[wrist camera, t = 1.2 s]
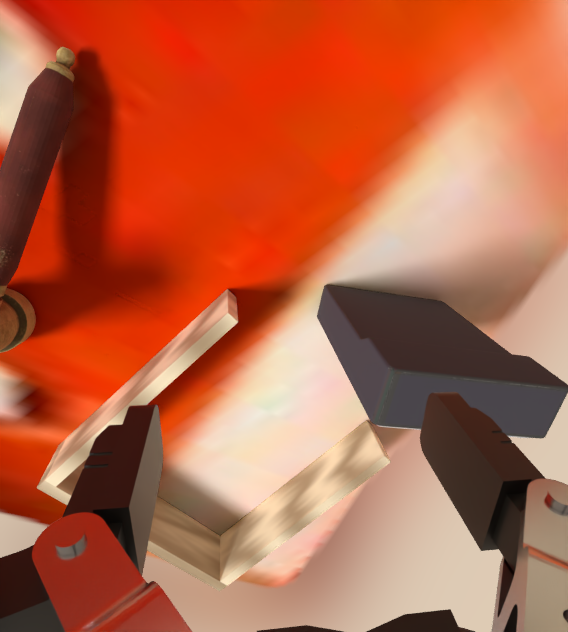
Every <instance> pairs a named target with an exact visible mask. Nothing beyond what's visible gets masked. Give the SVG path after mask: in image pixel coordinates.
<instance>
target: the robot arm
mask: <svg viewBox="0 0 568 632" xmlns="http://www.w3.org/2000/svg"><path fill="white" fill-rule="evenodd" d="M420 442H421V447H422V451H423V453H424V455H425V457H426V459H427V460H428V462H429V464H430V465H431V467H432V469H433V471H434V472H435V474H436V476H437V477H438V479H439V481H440V482H441V484H442V486H443V487H444V489H445V491H446V492H447V494H448V496H449V497H450V499H451V501H452V502H453V504H454V506H455V508H456V509H457V511H458V513H459V514H460V516H461V517H462V519H463V521H464V523H465V524H466V526H467V528H468V530H469V531H470V533H471V535H472V536H473V538H474V540H475V541H476V543H477V545H478V546H479V548H480V549H481V551H484V550H495V549H499V550H500V551H501V553H502V555H503V558H502V561H501V564H500V571H499V580H498V587H497V594H496V603H495V611H494V618H493V626H492V632H568V485H566V484H564V483H562V482H559V481H556V480H551V479H546V478H545V477H544V476H543V475H542V474H541V473H540V472H539V471H538V470H537V469H536V467H535V466H534V465H533V464H532V463H531V462H530V461H529V460H528V458H527V457H526V456H525V455H524V454H523V453H522V452H521V451H520V450H519V448H518V447H517V446H516V445H515V444H514V443H512V442H511V440H510V438H509V437H508V436H507V435H506V434H505V433H503V432H502V429H501V428H500V427H499V426H498V425H497V424H496V423H495V422H494V421H493V419H492V418H490V417H489V416H487V415H486V414H484V413H483V412H481V411H480V410H478V409H477V408H471V407H470V406H469V405H468V404H467V402H466V401H465V400H464V399H463V398H462V397H461V395H460V394H459V393H457V392H440V393H431V394H430V395H429V396H428V399H427V404H426V408H425V413H424V418H423V423H422V428H421V434H420ZM162 466H163V445H162V436H161V426H160V417H159V409H158V406H157V405H135V406H129V408H128V410H127V413H126V416H125V419H124V421H123V424H122V425H109V426H108V427H107V428H106V429H105V430H104V431H102V432H101V433H100V434H99V435H98V436H97V437H96V438H95V441H94V443H93V446H92V448H91V450H90V453H89V456H88V457H87V460H86V462H85V465H84V469H82V472H81V474H80V477H79V479H78V481H77V484H76V486H75V488H74V491H73V493H72V496H71V498H70V500H69V503H68V505H67V507H66V510H65V512H64V515H63V517H62V518H61V519H59V520H57V521H55V522H54V523H52V524H51V525H50V526H48V527H47V528H46V529H45V530H44V531H43V532H42V533H41V535H40V536H39V537H38V539H37V540H36V542H35V544H34V545H33V546H31V547H29V548H27V549H24V550H22V551H19V552H17V553H14V554H11V555H8V556H5V557H2V558H0V632H192V631H191V629H190V628H189V626H188V625H187V624H186V622H185V621H184V619H183V618H182V617H181V615H180V614H179V612H178V611H177V609H176V608H175V607H174V605H173V604H172V602H171V601H170V599H169V598H168V597H167V595H166V594H165V593H164V591H163V590H162V588H161V587H160V586H159V585H158V584H157V583H156V582H154V581H152V582H150V583H149V584H148V583H147V582H146V581H145V580H144V579H143V577H142V573H143V568H144V562H145V557H146V552H147V547H148V541H149V536H150V531H151V526H152V520H153V515H154V510H155V504H156V499H157V494H158V489H159V483H160V478H161V473H162ZM257 632H342V631H336V630H331V629H325V628H318V627H313V626H307V625H306V626H297V627H289V628H279V629H270V630H261V631H257ZM367 632H475V631H471V630H468V629H465V628H460V627H458V625H457V623H456V621H455V619H454V616H453V614H452V612H451V610H440V611H431V612H423V613H414V614H405V615H403V616H400V617H398V618H396V619H394V620H391V621H389V622H387V623H385V624H383V625H381V626H378V627H376V628H374V629H371V630H370V631H367Z"/></svg>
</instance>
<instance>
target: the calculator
mask: <svg viewBox="0 0 568 632" xmlns="http://www.w3.org/2000/svg"><path fill="white" fill-rule="evenodd" d="M317 318H318V320H319V322H320V324H321V325H322V327H323V329H324V331H325V333H326V335H327V337H328V339H329V341H330V343H331V345H332V347H333V349H334V351H335V353H336V355H337V357H338V359H339V361H340V362H341V364H342V366H343V368H344V370H345V372H346V374H347V376H348V378H349V380H350V382H351V384H352V386H353V388H354V390H355V392H356V394H357V396H358V398H359V399H360V401H361V403H362V405H363V407H364V409H365V411H366V413H367V415H368V417H369V419H370V421H371V422H372V423H374V424H375V425H377V426H380V427H389V428H402V429H415V430H421V428H422V423H423V418H424V413H425V408H426V404H427V399H428V396H429V395H430V394H431V393H440V392H457V393H459V394H460V395H461V397H462V398H463V399H464V400H465V401H466V402H467V404H468V405H469V406H470V407H471V408H477V409H478V410H480V411H481V412H483V413H484V414H486V415H487V416H489V417H490V418H492V419H493V421H494V422H495V423H496V424H497V425H498V426H499V427H500V428H501V429H502V432H503V433H505V434H506V435H507V436H508V437H519V438H544V437H545V436H546V434H547V432H548V430H549V428H550V426H551V424H552V422H553V421H554V419H555V417H556V415H557V413H558V411H559V409H560V407H561V405H562V403H563V401H564V399H565V397H566V395H567V393H568V385H567V384H566V383H565V382H563V381H562V380H560V379H559V378H558V377H556V376H555V375H553V374H552V373H551V372H549V371H548V370H547V369H545V368H544V367H543V366H541V365H540V364H539V363H537V362H536V361H534V360H533V359H532V358H530V357H527V356H520V355H512V354H511V353H509V352H508V351H507V350H505V349H504V348H503V347H501V346H500V345H499V344H497V343H496V342H495V341H494V340H492V339H491V338H490V337H488V336H487V335H486V334H484V333H483V332H482V331H480V330H479V329H478V328H477V327H475V326H474V325H473V324H471V323H470V322H469V321H467V320H466V319H465V318H464V317H462V316H461V315H460V314H458V313H457V312H456V311H454V310H453V309H452V308H450V307H449V306H448V305H447V304H445V303H444V302H442V301H437V300H430V299H423V298H416V297H410V296H403V295H396V294H389V293H382V292H375V291H368V290H361V289H354V288H347V287H340V286H333V285H325V286H324V289H323V293H322V298H321V302H320V306H319V310H318V315H317Z"/></svg>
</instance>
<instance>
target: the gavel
mask: <svg viewBox="0 0 568 632" xmlns="http://www.w3.org/2000/svg"><path fill="white" fill-rule="evenodd" d="M74 62H75V55H74V53H73V52H72V51H71V50H70V49H68V48H65V47H61V48H59V49H58V51H57V60H56V62H52V61H50V62H48V63H47V65H46V68H45V69H44V70H43V71H42V72H41V73H40V75H39V76H38V77H37V78H36V79H35V80H34V81H33V82H32V83H31V84H30V86H29V87H28V89H27V92H26V95H25V98H24V101H23V104H22V107H21V110H20V113H19V116H18V119H17V122H16V125H15V127H14V130H13V133H12V136H11V139H10V142H9V145H8V148H7V151H6V154H5V157H4V160H3V163H2V165H1V168H0V353H1V352H5V351H8V350H10V349H12V348H14V347H16V346H17V345H19V344H21V343H22V342H24V341H25V340H26V339H27V338H28V337H29V336H30V335H31V334H32V332H33V330H34V327H35V323H36V316H35V311H34V309H33V307H32V305H31V303H30V302H29V301H28V300H27V299H26V298H25V297H24V296H23V295H22V294H20V293H19V292H16V291H14V290H12V289H8V288H7V285H8V283H9V282H10V280H11V278H12V277H13V275H14V273H15V272H16V270H17V268H18V265H19V262H20V259H21V257H22V254H23V251H24V248H25V245H26V242H27V239H28V237H29V234H30V231H31V228H32V225H33V222H34V220H35V217H36V214H37V211H38V208H39V205H40V203H41V200H42V197H43V194H44V191H45V188H46V185H47V183H48V180H49V177H50V174H51V171H52V168H53V166H54V163H55V160H56V157H57V154H58V151H59V149H60V146H61V143H62V140H63V137H64V134H65V131H66V129H67V126H68V123H69V120H70V117H71V114H72V112H73V81H74V74H73V73H72V72H71V71H70V67H71V66H72V65H73V64H74Z"/></svg>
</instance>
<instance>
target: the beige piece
mask: <svg viewBox="0 0 568 632" xmlns="http://www.w3.org/2000/svg"><path fill="white" fill-rule="evenodd" d="M237 323H238V314H237V302H236V297H235V296H234V295H233V294H232V293H231V292H230V291H229V290H228V289H227V290H226V291H225V292H223V293H222V294H221V295H220V296H219V297H218V298H217V299H216V300H215V301H214V302H213V303H212V304H211V305H209V306H208V307H207V308H206V309H205V310H204V311H203V312H202V313H201V314H200V315H199V316H198V317H197V318H195V319H194V320H193V321H192V322H191V323H190V324H189V325H188V326H187V327H186V328H185V329H184V330H182V331H181V332H180V333H179V334H178V335H177V336H176V337H175V338H174V339H173V340H172V341H171V342H170V343H168V344H167V345H166V346H165V347H164V348H163V349H162V350H161V351H160V352H159V353H158V354H157V355H156V356H154V357H153V358H152V359H151V360H150V361H149V362H148V363H147V364H146V365H145V366H144V367H143V368H142V369H140V370H139V371H138V372H137V373H136V374H135V375H134V376H133V377H132V378H131V379H130V380H129V381H128V382H126V383H125V384H124V385H123V386H122V387H121V388H120V389H119V390H118V391H117V392H116V393H115V394H114V395H112V396H111V397H110V398H109V399H108V400H107V401H106V402H105V403H104V404H103V405H102V406H101V407H100V408H98V409H97V410H96V411H95V412H94V413H93V414H92V415H91V416H90V417H89V418H88V419H87V420H86V421H84V422H83V423H82V424H81V425H80V426H79V427H78V428H77V429H76V430H75V431H74V432H73V433H71V434H70V435H69V436H68V437H67V438H66V439H65V440H64V441H63V442H62V443H61V444H60V445H59V446H58V448H57V450H56V452H55V454H54V455H53V457H52V459H51V461H50V463H49V465H48V467H47V469H46V471H45V473H44V475H43V476H42V478H41V480H40V482H39V484H38V486H37V489H39V490H41V491H43V492H45V493H46V494H48V495H50V496H52V497H53V498H55V499H57V500H59V501H61V502H62V503H64V504H66V505H68V503H69V500H70V498H71V496H72V493H73V491H74V488H75V486H76V484H77V481H78V479H79V477H80V474H81V472H82V469H84V465H85V462H86V460H87V457H88V456H89V453H90V450H91V448H92V446H93V443H94V441H95V438H96V437H97V436H98V435H99V434H100V433H101V432H102V431H104V430H105V429H106V428H107V427H108V426H109V425H122V424H123V421H124V419H125V416H126V413H127V410H128V408H129V406H135V405H147V404H148V403H149V402H150V401H151V400H152V399H154V398H155V397H156V396H157V395H158V394H159V393H160V392H161V391H162V390H164V389H165V388H166V387H167V386H168V385H169V384H170V383H171V382H172V381H174V380H175V379H176V378H177V377H178V376H179V375H180V374H181V373H182V372H183V371H185V370H186V369H187V368H188V367H189V366H190V365H191V364H192V363H193V362H195V361H196V360H197V359H198V358H199V357H200V356H201V355H202V354H203V353H205V352H206V351H207V350H208V349H209V348H210V347H211V346H212V345H213V344H214V343H216V342H217V341H218V340H219V339H220V338H221V337H222V336H223V335H224V334H226V333H227V332H228V331H229V330H230V329H231V328H232V327H233V326H234V325H236V324H237ZM390 462H391V461H390V459H389V457H388V455H387V453H386V451H385V449H384V447H383V446H382V444H381V442H380V440H379V438H378V436H377V434H376V432H375V430H374V428H373V426H372V425H371V424H370V423H369V422H368V421H367V420H366V421H365V422H364V423H362V424H361V425H360V426H359V427H357V428H356V429H355V430H354V431H352V432H351V433H350V434H349V435H347V436H346V437H345V438H343V439H342V440H341V441H340V442H338V443H337V444H336V445H335V446H333V447H332V448H331V449H330V450H328V451H327V452H326V453H324V454H323V455H322V456H321V457H319V458H318V459H317V460H316V461H314V462H313V463H312V464H311V465H309V466H308V467H307V468H305V469H304V470H303V471H302V472H300V473H299V474H298V475H297V476H295V477H294V478H293V479H292V480H290V481H289V482H288V483H286V484H285V485H284V486H283V487H281V488H280V489H279V490H278V491H276V492H275V493H274V494H273V495H271V496H270V497H269V498H267V499H266V500H265V501H264V502H262V503H261V504H260V505H259V506H257V507H256V508H255V509H254V510H252V511H251V512H250V513H248V514H247V515H246V516H245V517H243V518H242V519H241V520H240V521H238V522H237V523H236V524H234V525H233V526H232V527H231V528H229V529H228V530H227V531H226V532H224V533H223V534H222V535H221V536H220V535H218V534H216V533H215V532H213V531H212V530H210V529H208V528H207V527H205V526H204V525H202V524H201V523H199V522H197V521H196V520H194V519H193V518H191V517H189V516H188V515H186V514H185V513H183V512H182V511H180V510H178V509H177V508H175V507H174V506H172V505H171V504H169V503H167V502H166V501H164V500H163V499H161V498H159V497H158V496H157V499H156V504H155V510H154V515H153V520H152V526H151V531H150V536H149V541H148V547H147V551H149V552H151V553H153V554H154V555H156V556H158V557H160V558H162V559H163V560H165V561H167V562H169V563H170V564H172V565H174V566H176V567H178V568H179V569H181V570H183V571H185V572H186V573H188V574H190V575H192V576H194V577H195V578H197V579H199V580H201V581H202V582H204V583H206V584H208V585H210V586H211V587H213V588H215V589H217V590H218V591H221V590H222V589H224V588H225V587H226V586H228V585H229V584H230V583H232V582H233V581H234V580H236V579H237V578H238V577H240V576H241V575H242V574H244V573H245V572H246V571H248V570H249V569H250V568H251V567H253V566H254V565H255V564H257V563H258V562H259V561H261V560H262V559H263V558H265V557H266V556H267V555H269V554H270V553H271V552H273V551H274V550H275V549H277V548H278V547H279V546H281V545H282V544H283V543H284V542H286V541H287V540H288V539H290V538H291V537H292V536H294V535H295V534H296V533H298V532H299V531H300V530H302V529H303V528H304V527H306V526H307V525H308V524H310V523H311V522H312V521H314V520H315V519H316V518H317V517H319V516H320V515H321V514H323V513H324V512H325V511H327V510H328V509H329V508H331V507H332V506H333V505H335V504H336V503H337V502H339V501H340V500H341V499H343V498H344V497H345V496H347V495H348V494H349V493H350V492H352V491H353V490H354V489H356V488H357V487H358V486H360V485H361V484H362V483H364V482H365V481H366V480H368V479H369V478H370V477H372V476H373V475H374V474H376V473H377V472H378V471H380V470H381V469H382V468H383V467H385V466H386V465H387V464H389V463H390Z"/></svg>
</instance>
